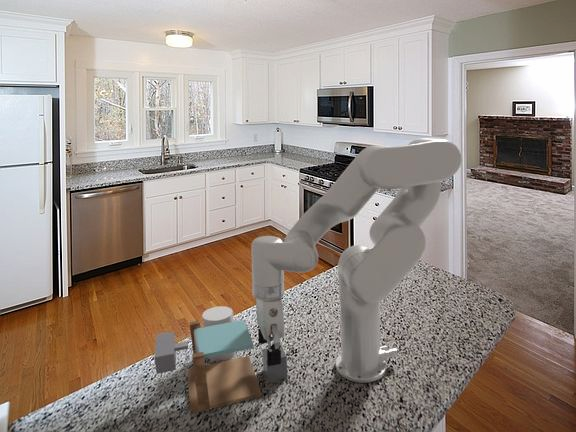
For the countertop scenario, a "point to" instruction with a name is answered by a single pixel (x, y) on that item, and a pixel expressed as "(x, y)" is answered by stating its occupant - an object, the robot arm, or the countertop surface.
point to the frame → (219, 380)
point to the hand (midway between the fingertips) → (269, 352)
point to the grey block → (275, 367)
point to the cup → (215, 318)
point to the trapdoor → (203, 343)
